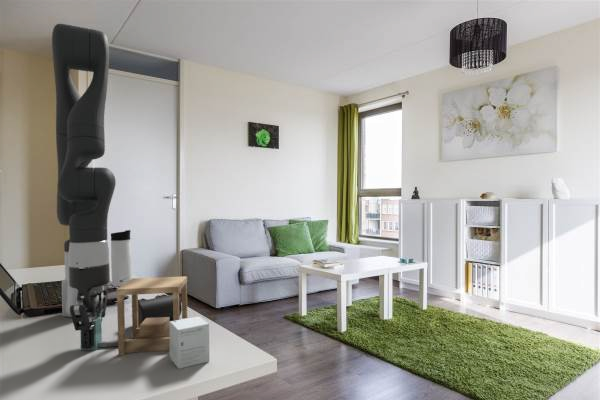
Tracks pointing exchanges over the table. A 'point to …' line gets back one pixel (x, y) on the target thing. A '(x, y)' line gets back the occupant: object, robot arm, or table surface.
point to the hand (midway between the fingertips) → (91, 344)
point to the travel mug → (121, 257)
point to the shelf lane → (135, 288)
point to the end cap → (156, 308)
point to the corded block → (147, 330)
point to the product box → (189, 341)
